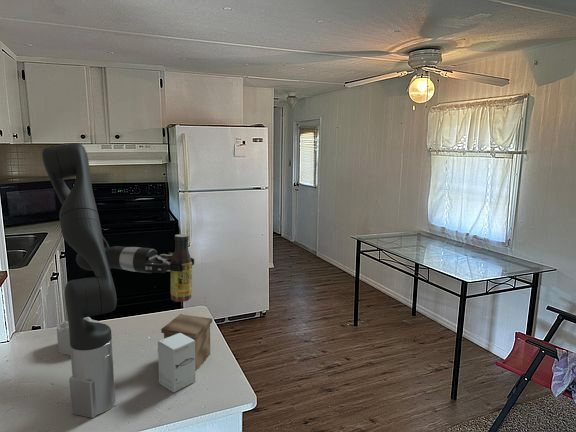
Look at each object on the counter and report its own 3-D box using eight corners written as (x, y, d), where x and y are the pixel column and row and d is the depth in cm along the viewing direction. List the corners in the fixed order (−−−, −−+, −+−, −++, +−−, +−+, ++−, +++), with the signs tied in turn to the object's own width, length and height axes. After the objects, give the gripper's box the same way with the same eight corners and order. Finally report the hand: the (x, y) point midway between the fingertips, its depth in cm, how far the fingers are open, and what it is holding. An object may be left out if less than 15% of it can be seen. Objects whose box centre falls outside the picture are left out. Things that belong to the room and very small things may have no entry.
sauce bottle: (179, 304, 120) (178, 239, 117) (166, 299, 124) (164, 235, 120) (196, 298, 125) (196, 235, 122) (183, 293, 129) (182, 232, 125)
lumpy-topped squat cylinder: (83, 357, 126) (81, 331, 124) (48, 351, 129) (46, 325, 127) (106, 341, 136) (105, 317, 134) (73, 336, 139) (71, 312, 137)
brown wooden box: (196, 372, 119) (195, 334, 116) (162, 366, 121) (161, 329, 119) (212, 354, 129) (212, 318, 127) (181, 349, 132) (180, 314, 130)
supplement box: (173, 393, 109) (172, 349, 106) (158, 382, 113) (156, 340, 111) (196, 382, 114) (195, 340, 112) (180, 372, 119) (179, 331, 117)
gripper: (123, 253, 119) (176, 258, 115) (151, 242, 133) (199, 247, 129) (125, 278, 120) (176, 284, 116) (152, 265, 134) (199, 270, 130)
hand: (188, 264), depth 122 cm, fingers closed on sauce bottle, 6 cm apart
